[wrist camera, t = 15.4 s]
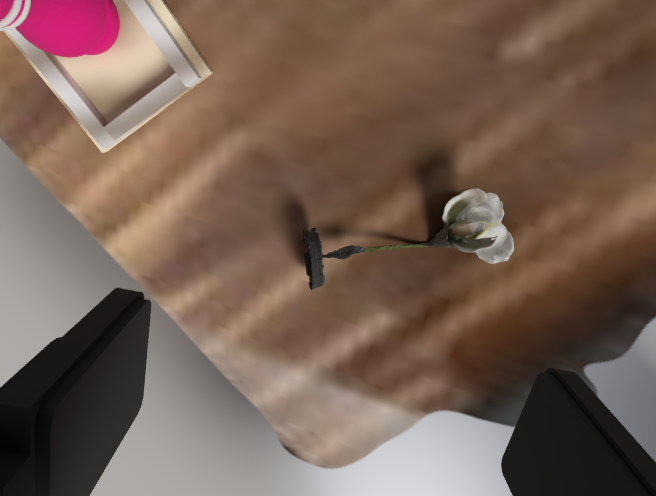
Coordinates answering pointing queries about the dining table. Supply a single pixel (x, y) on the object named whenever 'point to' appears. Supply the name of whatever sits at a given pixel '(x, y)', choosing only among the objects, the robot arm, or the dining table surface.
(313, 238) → the artificial flower
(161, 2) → the rail board
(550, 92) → the dining table surface
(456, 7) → the dining table surface
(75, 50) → the pepper mill
